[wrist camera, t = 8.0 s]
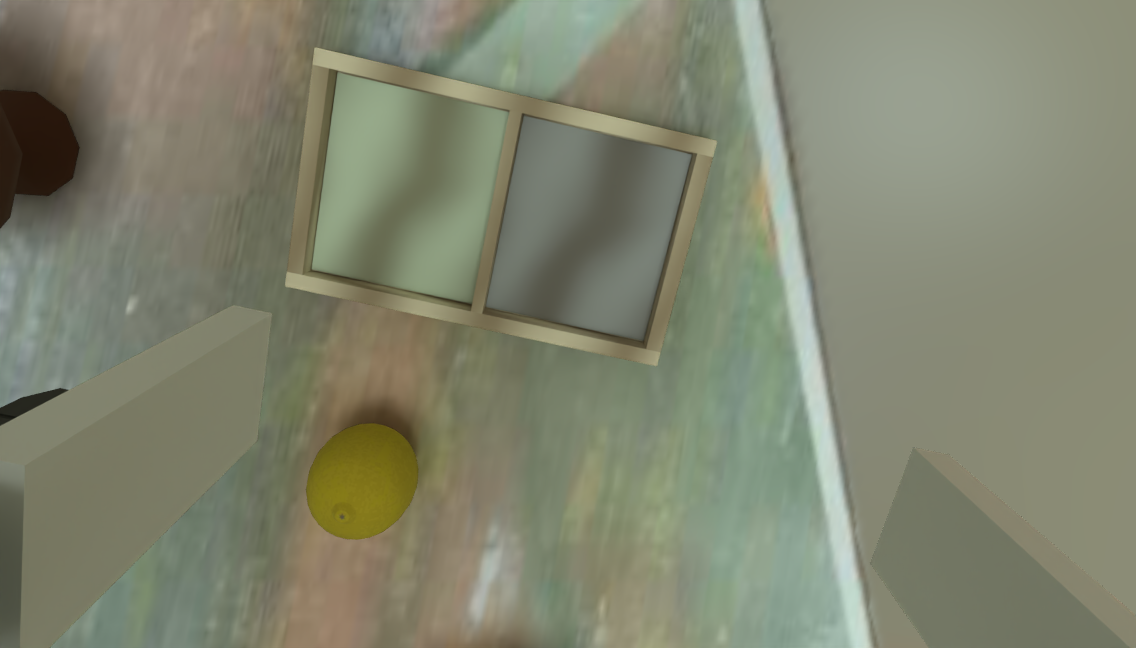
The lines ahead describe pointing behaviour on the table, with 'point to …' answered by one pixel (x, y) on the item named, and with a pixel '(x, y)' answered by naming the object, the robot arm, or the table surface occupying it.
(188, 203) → the table surface
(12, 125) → the ice cream bowl
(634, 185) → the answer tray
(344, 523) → the lemon
